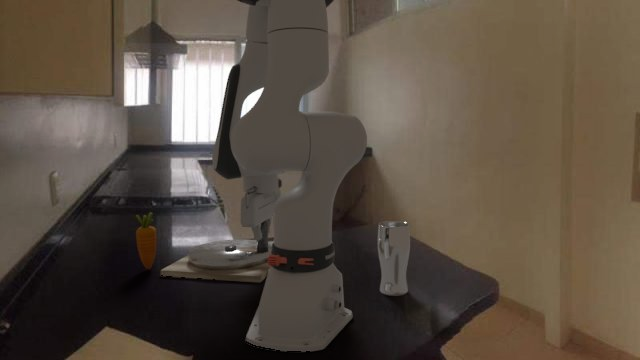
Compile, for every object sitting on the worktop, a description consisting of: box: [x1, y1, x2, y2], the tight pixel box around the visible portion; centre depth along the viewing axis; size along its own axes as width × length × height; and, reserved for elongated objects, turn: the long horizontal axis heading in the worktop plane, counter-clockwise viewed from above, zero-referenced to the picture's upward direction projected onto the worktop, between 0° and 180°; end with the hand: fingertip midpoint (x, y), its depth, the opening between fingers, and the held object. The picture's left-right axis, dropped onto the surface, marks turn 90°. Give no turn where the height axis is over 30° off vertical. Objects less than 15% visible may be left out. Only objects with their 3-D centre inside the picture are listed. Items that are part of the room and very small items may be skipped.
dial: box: [187, 220, 272, 270], centre depth 125 cm, size 22×22×10 cm
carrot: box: [135, 211, 158, 270], centre depth 120 cm, size 5×5×15 cm
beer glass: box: [377, 220, 411, 297], centre depth 102 cm, size 7×7×15 cm
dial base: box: [160, 254, 272, 283], centre depth 126 cm, size 26×26×2 cm
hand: (262, 237), depth 123 cm, fingers open, 5 cm apart
